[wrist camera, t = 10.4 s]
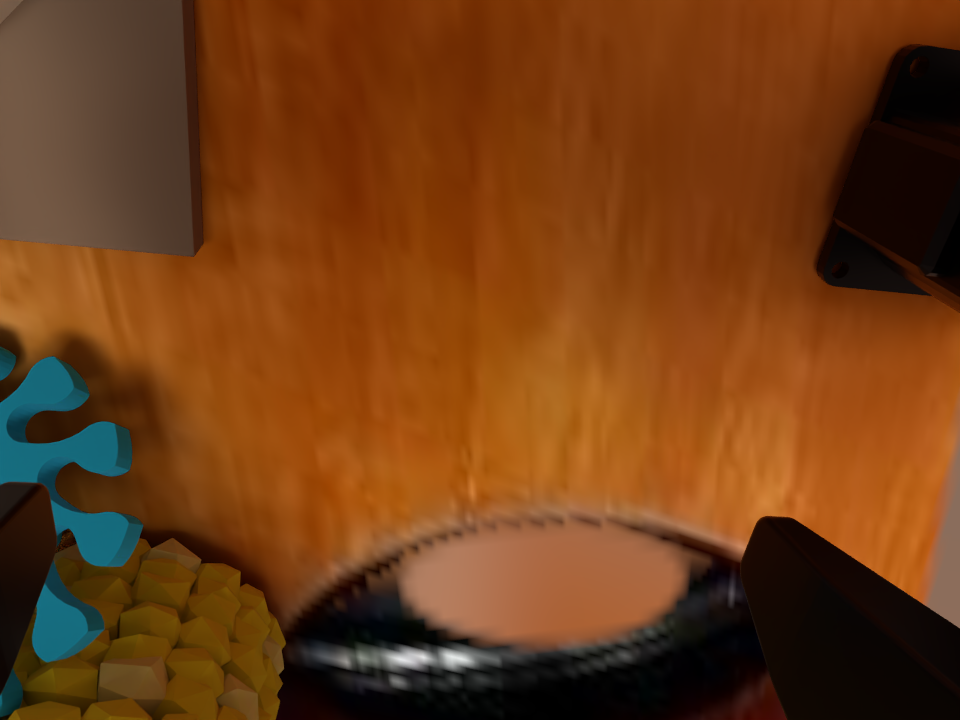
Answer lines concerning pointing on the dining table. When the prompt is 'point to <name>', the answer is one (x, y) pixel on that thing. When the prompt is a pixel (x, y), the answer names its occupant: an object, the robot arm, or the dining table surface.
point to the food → (159, 644)
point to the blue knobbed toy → (63, 502)
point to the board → (100, 125)
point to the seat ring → (7, 7)
